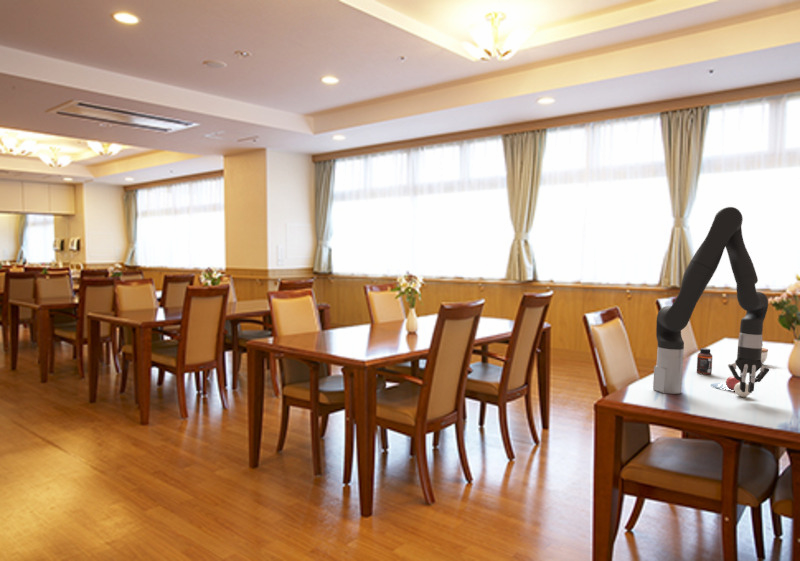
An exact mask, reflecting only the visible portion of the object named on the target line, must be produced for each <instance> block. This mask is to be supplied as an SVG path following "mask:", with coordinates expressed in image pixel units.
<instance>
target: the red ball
mask: <svg viewBox="0 0 800 561" xmlns="http://www.w3.org/2000/svg"><path fill="white" fill-rule="evenodd" d="M739 382H740V381H739V380H737V379H735V377H734V376H733V375H732V376H729V377H728V378H726V381H725V383H726V385H727V387H728V388H729V389H731V390H734V387H735V385H736V384H737V383H739Z"/></svg>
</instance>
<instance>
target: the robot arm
mask: <svg viewBox="0 0 800 561" xmlns="http://www.w3.org/2000/svg"><path fill="white" fill-rule="evenodd" d="M743 219H744V218H743V214H742V213H741V211H740V210H739V209H738V208H737V207H734V206H725V207H724V208H721V209H720V210H718V212H716V214H715V216H714V218H713V221H712V223H711V227H710V228H709V231H708V233H707V235H706V237H705V239H704V240H703V241H702V242H701V244H700V246H699V247H698V249H697V250H696V252H695V253H694V255H693V256H692V258H691V259H690V261H689V263H688V265H687V267H686V268H685V270H684V273H683V276H682V279H681V284H680V290H679V292H678V295H677V297H676V298H675V300H674V301H673V303H672V304H671V305H666V306H663V307H661V309H660V310H659V311H658V313H657V316H656V329H655V331H656V332H655V336H656V341H657V351H656V365H654V366H653V382H652V385H653V386H652V390H654V391H656V392H658V393H659V392H660V393H663V394H670V395H671V394H674V395H678V394H682V389H683V388H682V385H683V368H684V353H685V352H684V351H685V349H684V348H685V341H684V340H683V337H682V330H684V329H685V328H686V327H687V325H688V324H689V322H690V320H691V317H692V314H693V312H694V310H695V307H696V306H697V304H698V302H699V300H700V298H701V296H702V295H703V293H704V291H705V290H706V288H707V286H708V284H709V283H710V281H711V280H712V278H713V277H714V274H715V273H716V271H717V268H718V266H719V264H720V262H721V259H722V256H723V253H724V251H725V249H726V252H727V255H728V260H729V263H730V267H731V271H732V274H733V278H734V281H735V283H736V284H735V285H736V299H737V302H738V304H739V306H740V307H741V308H742V309H743V310H744V311H746V313H745V316H744V317H742V318H741V319H740V326H739V335H738V341H737V354H736V360H735V362H733V363H731V364H730V363H729V364H727V367H728V369H729V370H730V372H731V374H732V376H734V377H735V379H737V380H739V381H740V390H741V391H742V392H745V387H746V383H747V382H746V377H747V374H748V375H749V377H748V378H749V379H748V380H749V381H748V383H747V384H748V392H749V393H750V394H753V392H754V391H755V384H756V383H760V382H762V380H763V378H765V376H766V375H767V374H768V373H769V371H770V369H769V368H768V367H765V366H764V365H763V363H761V354H762V348H763V347H764V346H763V331H764V330H763V328H764V321H765V319H766V316H767V312H768V309H769V299H768V297H767V295H766V294H765V293H764V292H761V291H757V289H756V284H757V283H758V281H759V280H758V279H759V278H758V275H757V271H756V269H755V266H754V263H753V260H752V258H751V255H750V254H749V252H748V250H747V247H746V245H745V242H744V241H745V240H744V238H743V237H744V236H743V229H742V225H743ZM737 368H738V369H739V371H740V372H739V373H738V372H737V370H736V369H737ZM758 371H760V372H759V373H758V374H757V372H758ZM756 374H757V375H756Z"/></svg>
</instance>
